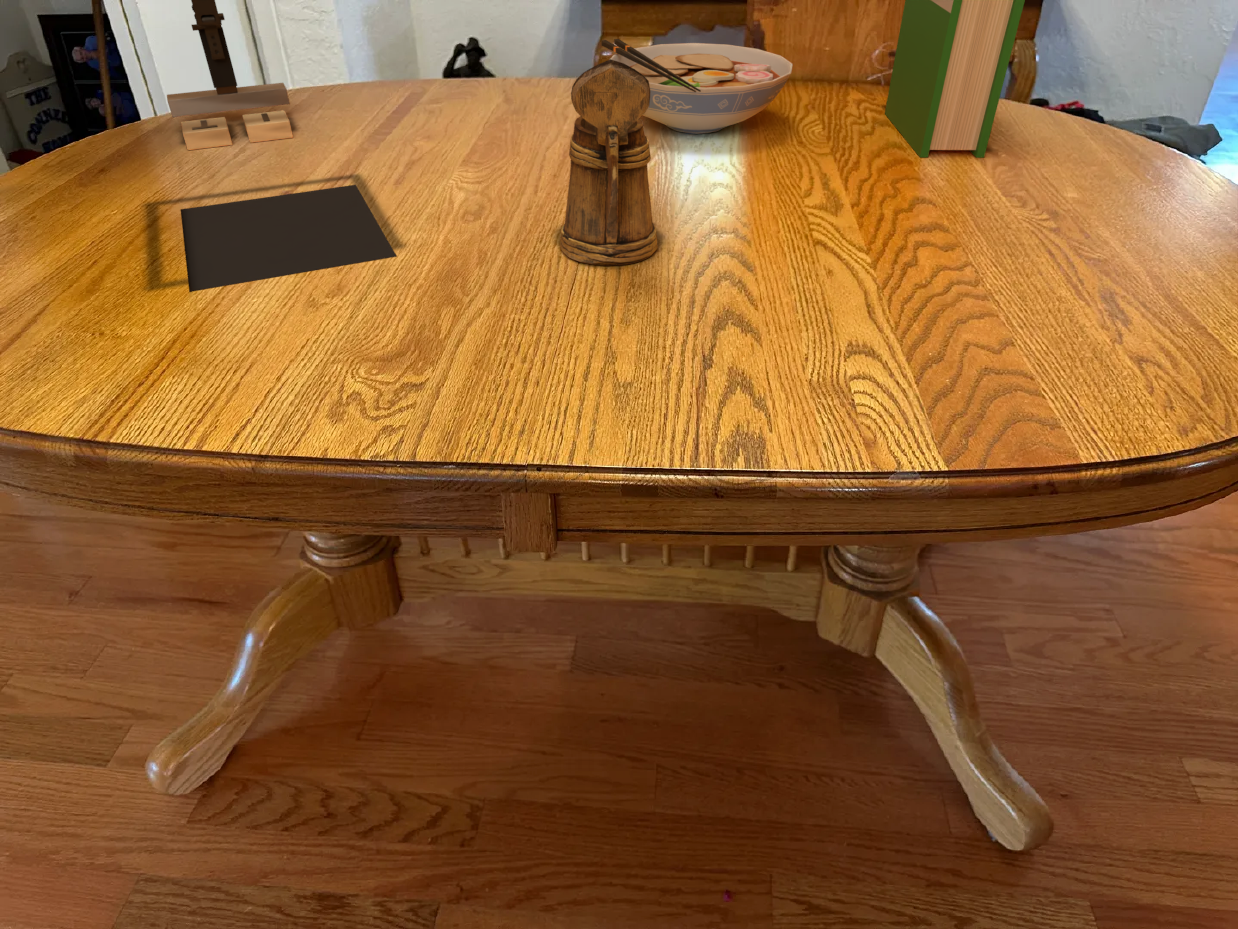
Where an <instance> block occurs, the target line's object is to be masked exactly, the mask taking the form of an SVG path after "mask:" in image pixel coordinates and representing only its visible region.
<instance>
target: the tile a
mask: <svg viewBox="0 0 1238 929" xmlns="http://www.w3.org/2000/svg"><path fill="white" fill-rule="evenodd" d="M180 124H181V131H182V136H183V139H184V142H185V146H186V149H187V151H193V150H202V149H211V148H218V147H227V146H233V141H232V137H231V134H230V133H231V132H230V130H229V126H228V122H227V119H226V117H225V116H221V117H211V118H202V119H194V120H184V121H181V123H180Z"/></svg>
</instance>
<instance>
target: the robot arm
mask: <svg viewBox="0 0 1238 929" xmlns="http://www.w3.org/2000/svg"><path fill="white" fill-rule="evenodd" d="M190 1H191V9H192V11H193V13H194V14H193V17H194V20H195V22H196V24H191V28H192V31H198V34H199V38H200V41H201V45H202V49H203V53H204V56H205V59H206V60H205V61H206V64H207V66H208V71H209V74H210V78H211V81H212V85H213V88H214V89H216V88H221V87H230V86H236V87H238V82H237V78H236V74H235V71H234V67H233V62H232V59H231V55H230V51H229V48H228V44H227V40H226V36H225V33H224V29H223V26H222V25H223V24H222V22H223V21H226V19H225V15H224V13H223V12H219V11H218V8H217V2H216V0H190Z"/></svg>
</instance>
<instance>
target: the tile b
mask: <svg viewBox="0 0 1238 929" xmlns="http://www.w3.org/2000/svg"><path fill="white" fill-rule="evenodd" d="M242 119H243V124H244V128H245V131H246V135H247V137H248V140H249V143H250V144H251V143H260V142H268V141H269V142H270V141H276V140H285V139H293V138H294V135H293V132H292V126H291V121H290V119H289V117H288V115H287V113H286V111H285V110H283V109H282V110H275V111H266V112H265V111H264V112H257V113H246V114H242Z"/></svg>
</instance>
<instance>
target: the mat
mask: <svg viewBox="0 0 1238 929" xmlns="http://www.w3.org/2000/svg"><path fill="white" fill-rule="evenodd" d="M180 219H181V228H182V236H183V245H184V246H183V247H184V256H185V265H186V274H187V285H188V293H193V292H196V291H197V292H198V291H204V290H209V289H216V288H221V287H226V286H233V285H239V284H245V283H251V282H257V281H262V280H269V279H275V278H279V277H285V276H292V275H297V274H303V273H309V272H314V271H315V272H316V271H321V270H326V269H327V270H328V269H332V268H339V267H344V266H350V265H355V264H362V263H367V262H372V261H374V262H375V261H381V260H384V259H385V260H386V259H392V258H396V257H398V255H397V254H396V253H395V251H394V249H393V247H392V245H391V244H390V241H389V240H388V239H387V237H386V235H385V233H384V232H383V229H382V228H381V227H380V226H381V225H380V224H379V222H378V221H377V219H376V217H375V216H374V214H373V213H372V210H371V209H370V207H369V205H368V203H367V202H366V200H365V198H364V196H363V194H362V193H361V192H360V190H359V187H358V185H357V184H350V185H343V186H336V187H329V188H322V189H315V190H307V191H301V192H294V193H287V194H286V193H285V194H279V195H273V196H267V197H265V196H264V197H258V198H252V199H251V198H250V199H243V200H237V201H230V202H221V203H216V204H210V205H202V206H194V207H187V208H181V209H180Z"/></svg>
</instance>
